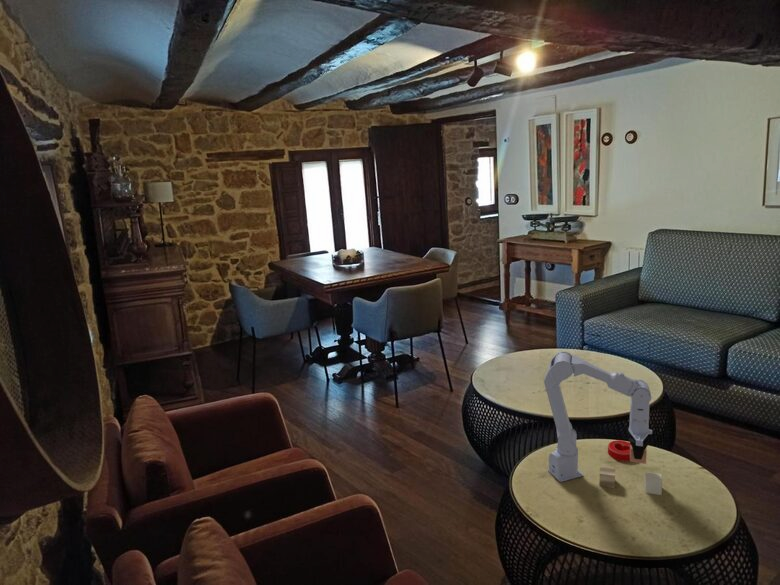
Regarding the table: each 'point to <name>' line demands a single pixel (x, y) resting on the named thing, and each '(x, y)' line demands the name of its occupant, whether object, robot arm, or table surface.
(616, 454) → the decorative ornament
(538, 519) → the table surface
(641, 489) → the table surface
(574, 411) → the table surface
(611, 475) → the beech cube
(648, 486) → the cream cube
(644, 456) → the terracotta cube
